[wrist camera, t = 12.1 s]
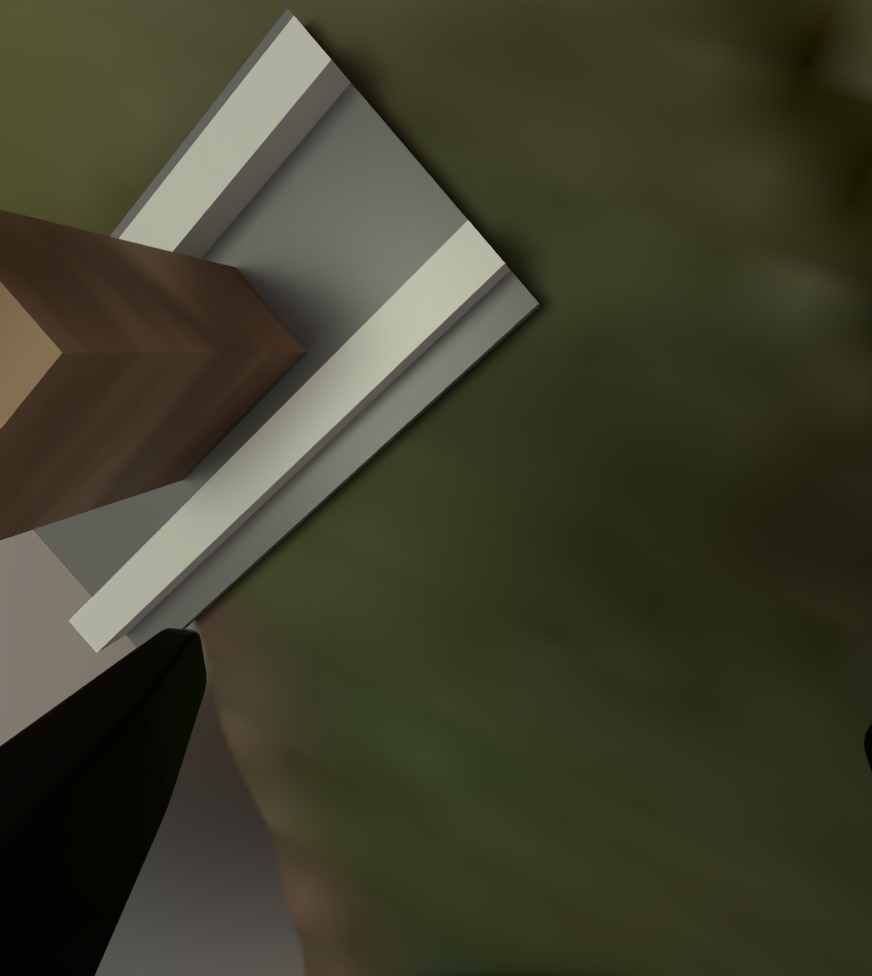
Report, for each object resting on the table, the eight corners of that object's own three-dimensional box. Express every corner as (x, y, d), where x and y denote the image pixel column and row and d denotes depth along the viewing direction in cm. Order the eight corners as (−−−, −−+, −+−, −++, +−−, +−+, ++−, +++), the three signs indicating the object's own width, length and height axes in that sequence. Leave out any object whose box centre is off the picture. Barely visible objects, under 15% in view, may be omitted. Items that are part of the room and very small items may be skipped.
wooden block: (308, 351, 20) (62, 352, 10) (182, 480, 22) (-122, 580, 12) (222, 252, 20) (-104, 162, 10) (104, 390, 22) (-264, 420, 12)
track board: (540, 305, 19) (535, 299, 17) (164, 647, 25) (120, 679, 22) (302, 25, 19) (262, -22, 17) (-24, 434, 25) (-89, 443, 22)
